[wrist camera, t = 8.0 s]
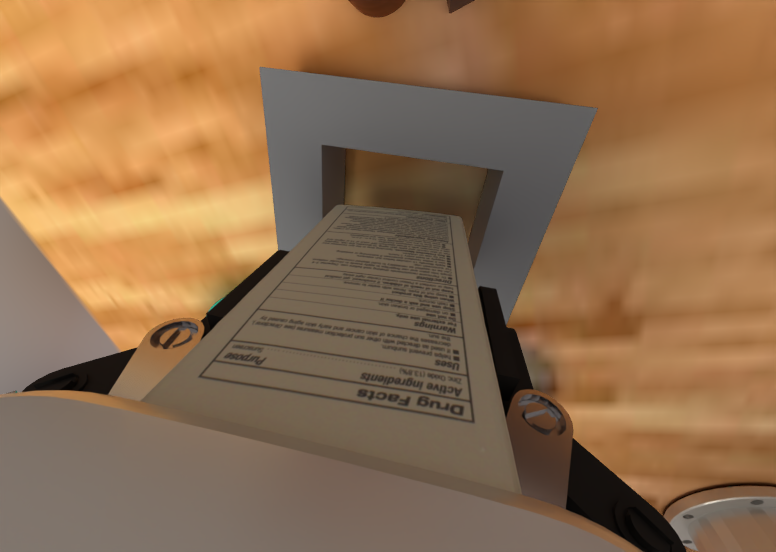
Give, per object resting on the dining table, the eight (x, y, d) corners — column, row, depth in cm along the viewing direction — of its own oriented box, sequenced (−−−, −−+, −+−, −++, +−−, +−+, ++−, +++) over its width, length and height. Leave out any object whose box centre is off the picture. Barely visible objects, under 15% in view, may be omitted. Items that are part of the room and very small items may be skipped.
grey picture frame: (562, 106, 15) (598, 108, 11) (485, 319, 22) (492, 358, 19) (299, 74, 16) (259, 66, 13) (308, 285, 23) (285, 316, 20)
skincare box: (338, 277, 16) (151, 578, 6) (336, 200, 14) (25, 471, 4) (454, 293, 16) (470, 672, 5) (471, 214, 13) (557, 609, 3)
